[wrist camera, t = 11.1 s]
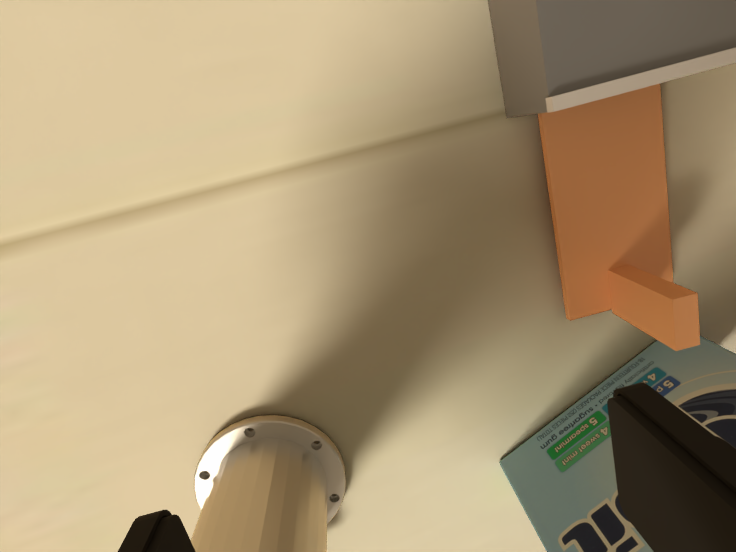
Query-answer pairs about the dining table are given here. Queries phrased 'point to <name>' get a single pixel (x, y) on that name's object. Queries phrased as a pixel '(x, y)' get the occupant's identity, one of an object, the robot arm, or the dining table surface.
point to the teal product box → (595, 454)
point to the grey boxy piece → (604, 47)
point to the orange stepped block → (616, 215)
